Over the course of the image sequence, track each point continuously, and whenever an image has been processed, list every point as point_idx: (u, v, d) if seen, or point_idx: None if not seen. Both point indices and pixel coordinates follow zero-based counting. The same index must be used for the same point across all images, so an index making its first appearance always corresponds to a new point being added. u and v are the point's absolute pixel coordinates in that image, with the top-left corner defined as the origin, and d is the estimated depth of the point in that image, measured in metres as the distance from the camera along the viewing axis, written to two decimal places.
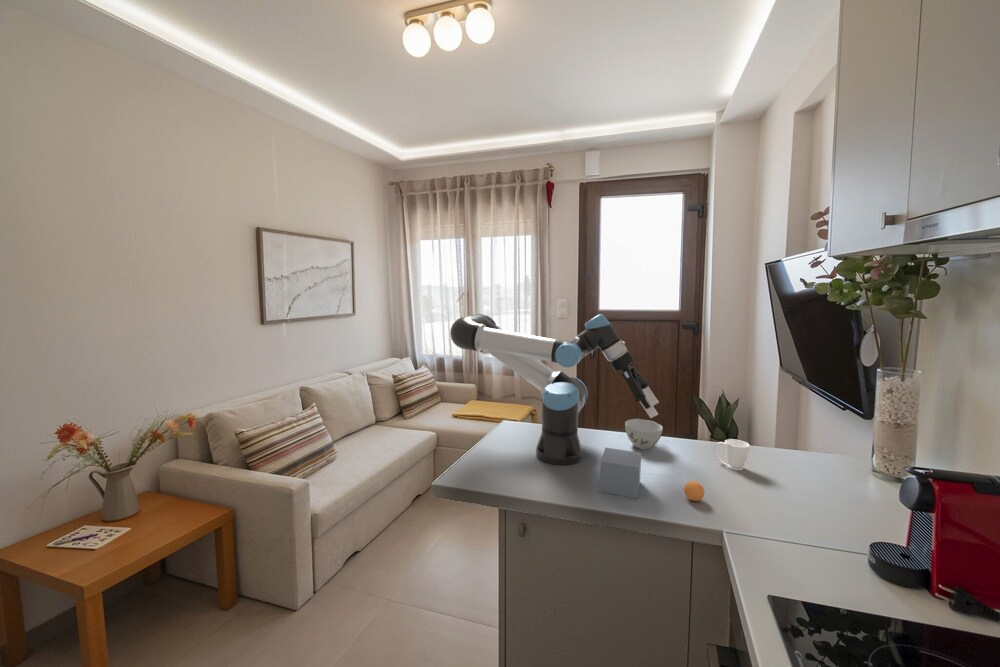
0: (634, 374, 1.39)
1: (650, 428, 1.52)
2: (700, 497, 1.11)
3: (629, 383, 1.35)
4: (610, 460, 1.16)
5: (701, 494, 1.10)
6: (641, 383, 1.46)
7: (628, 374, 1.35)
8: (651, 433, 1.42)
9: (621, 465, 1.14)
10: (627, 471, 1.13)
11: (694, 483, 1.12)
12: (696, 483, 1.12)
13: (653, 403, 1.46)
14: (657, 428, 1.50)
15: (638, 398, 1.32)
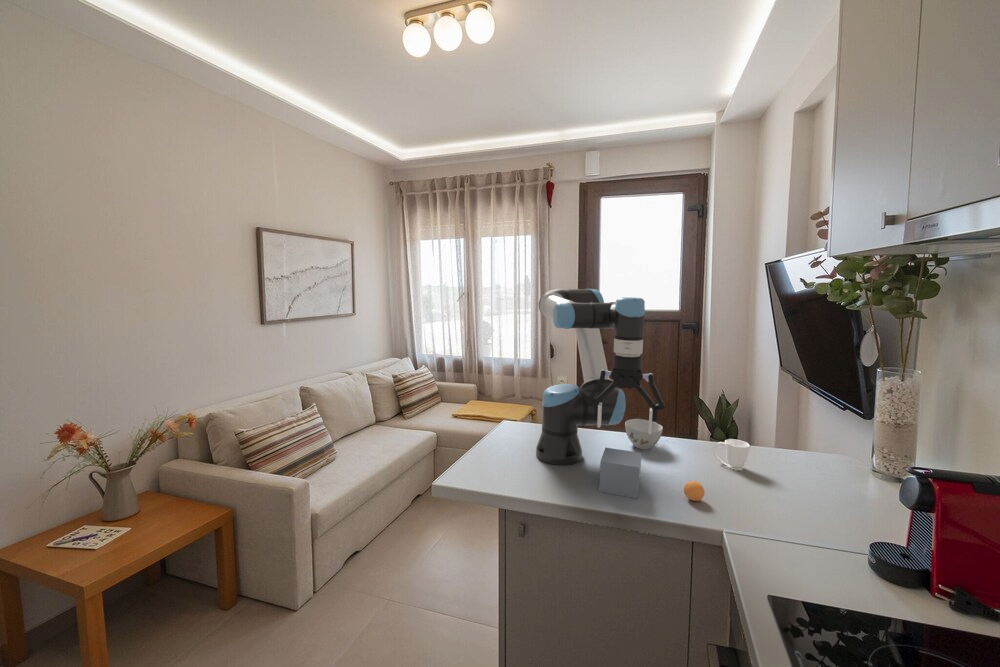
0: (615, 381, 1.16)
1: None
2: (700, 497, 1.11)
3: None
4: (610, 460, 1.16)
5: (701, 494, 1.10)
6: (647, 401, 1.15)
7: (600, 373, 1.18)
8: (651, 433, 1.42)
9: (621, 465, 1.14)
10: (627, 471, 1.13)
11: (694, 483, 1.12)
12: (696, 483, 1.12)
13: None
14: (657, 428, 1.50)
15: None
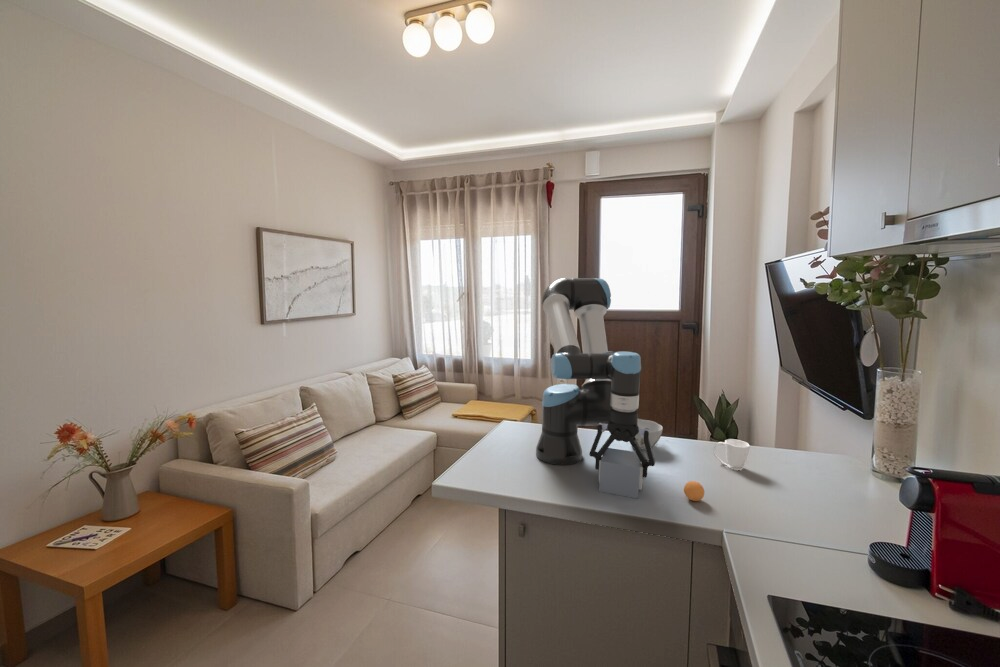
0: (612, 435, 1.17)
1: (650, 428, 1.52)
2: (700, 497, 1.11)
3: None
4: (610, 460, 1.16)
5: (701, 494, 1.10)
6: None
7: None
8: (651, 433, 1.42)
9: (621, 465, 1.14)
10: (627, 471, 1.13)
11: (694, 483, 1.12)
12: (696, 483, 1.12)
13: None
14: (657, 428, 1.50)
15: None
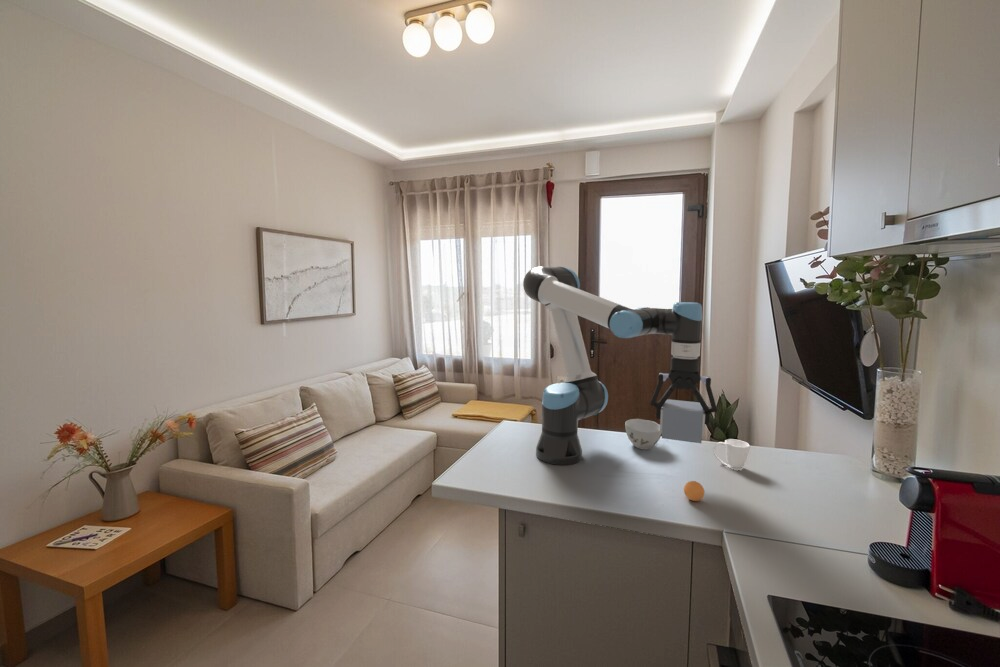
0: (673, 383, 1.21)
1: (650, 428, 1.52)
2: (700, 497, 1.11)
3: (657, 385, 1.25)
4: (672, 407, 1.19)
5: (701, 494, 1.10)
6: (700, 403, 1.20)
7: None
8: (651, 433, 1.42)
9: (684, 411, 1.17)
10: (690, 416, 1.16)
11: (694, 483, 1.12)
12: (696, 483, 1.12)
13: None
14: (657, 428, 1.50)
15: None
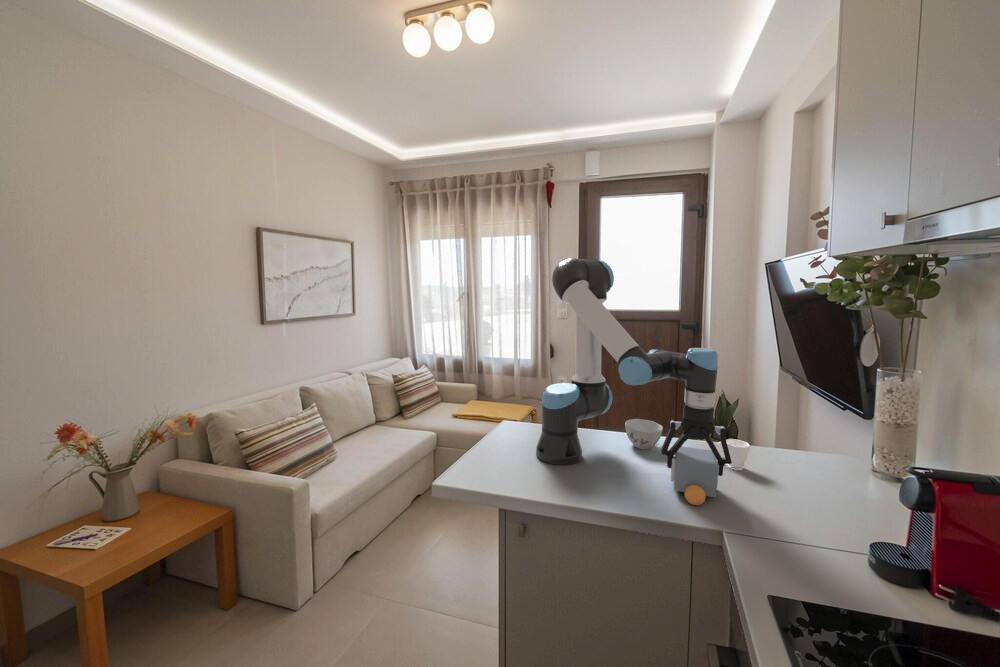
0: (686, 432, 1.15)
1: (650, 428, 1.52)
2: None
3: (668, 433, 1.19)
4: (685, 458, 1.14)
5: (701, 503, 1.09)
6: (714, 454, 1.15)
7: (670, 425, 1.18)
8: (651, 433, 1.42)
9: (698, 463, 1.12)
10: (705, 469, 1.11)
11: (695, 494, 1.09)
12: (697, 493, 1.09)
13: None
14: (657, 428, 1.50)
15: (661, 450, 1.20)
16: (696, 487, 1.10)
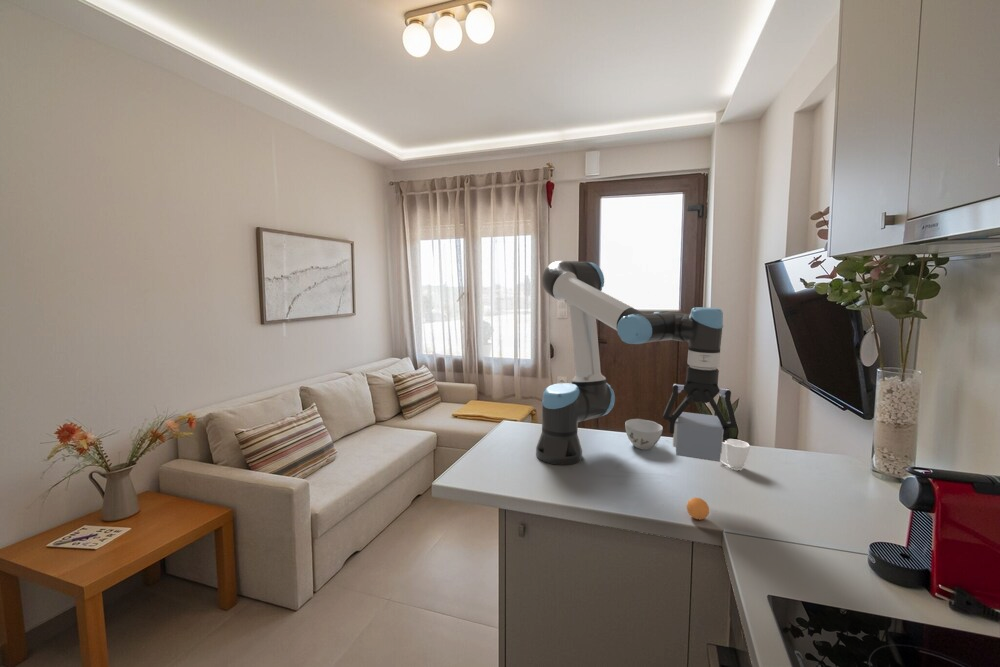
0: (689, 395, 1.11)
1: (650, 428, 1.52)
2: None
3: (670, 397, 1.15)
4: (688, 422, 1.09)
5: None
6: None
7: (673, 389, 1.13)
8: (651, 433, 1.42)
9: (702, 426, 1.07)
10: (708, 433, 1.07)
11: None
12: None
13: None
14: (657, 428, 1.50)
15: (663, 415, 1.16)
16: None
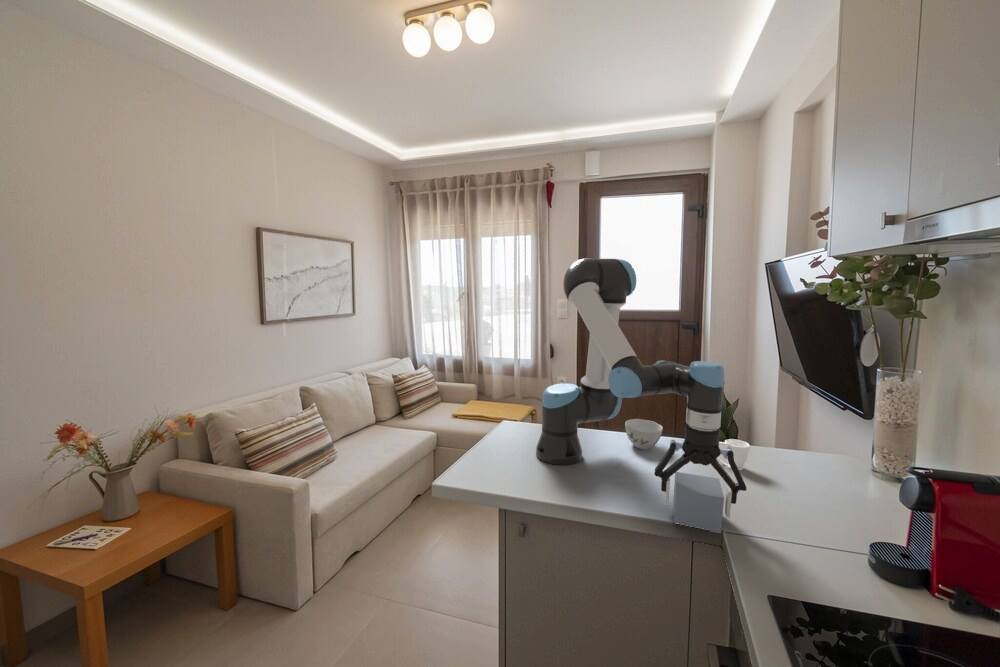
0: (687, 456, 1.02)
1: (650, 428, 1.52)
2: None
3: (666, 453, 1.06)
4: (686, 489, 1.01)
5: None
6: None
7: (670, 446, 1.04)
8: (651, 433, 1.42)
9: (701, 495, 0.99)
10: (709, 502, 0.98)
11: None
12: None
13: (725, 511, 1.02)
14: (657, 428, 1.50)
15: None
16: None
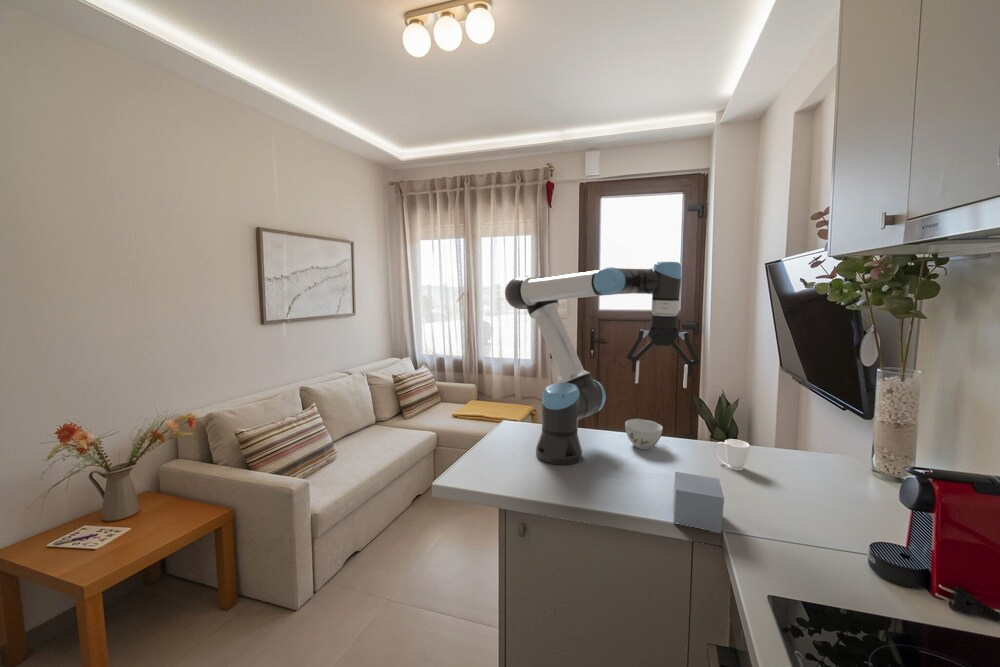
0: (652, 339, 1.26)
1: (650, 428, 1.52)
2: None
3: None
4: (686, 489, 1.01)
5: None
6: None
7: (639, 333, 1.28)
8: (651, 433, 1.42)
9: (701, 495, 0.99)
10: (709, 502, 0.98)
11: None
12: None
13: (683, 384, 1.26)
14: (657, 428, 1.50)
15: None
16: None
